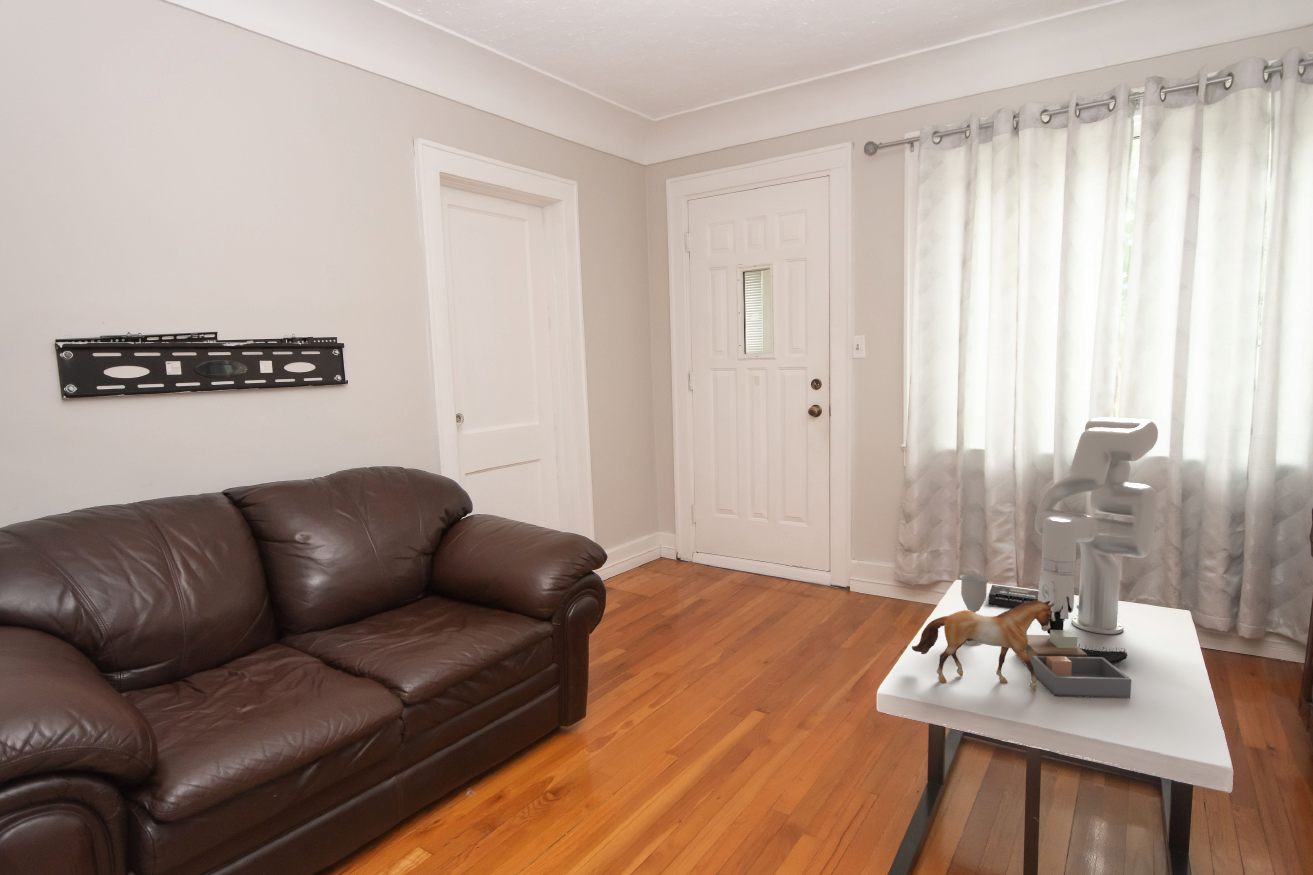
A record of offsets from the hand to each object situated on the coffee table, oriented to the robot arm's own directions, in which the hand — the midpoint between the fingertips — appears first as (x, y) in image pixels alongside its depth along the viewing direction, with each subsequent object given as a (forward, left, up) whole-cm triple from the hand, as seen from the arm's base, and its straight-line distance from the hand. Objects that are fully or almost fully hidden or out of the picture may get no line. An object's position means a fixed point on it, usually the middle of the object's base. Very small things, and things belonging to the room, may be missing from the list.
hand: (1055, 634), depth 181 cm
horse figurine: (+13, -23, -6) cm, 27 cm away
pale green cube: (+4, 0, -1) cm, 4 cm away
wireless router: (-40, +9, -7) cm, 41 cm away
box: (+16, -2, -6) cm, 17 cm away
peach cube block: (+12, -5, -3) cm, 13 cm away
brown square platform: (+4, -3, -6) cm, 8 cm away
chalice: (-9, -17, -6) cm, 21 cm away
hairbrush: (-3, +6, -7) cm, 9 cm away
